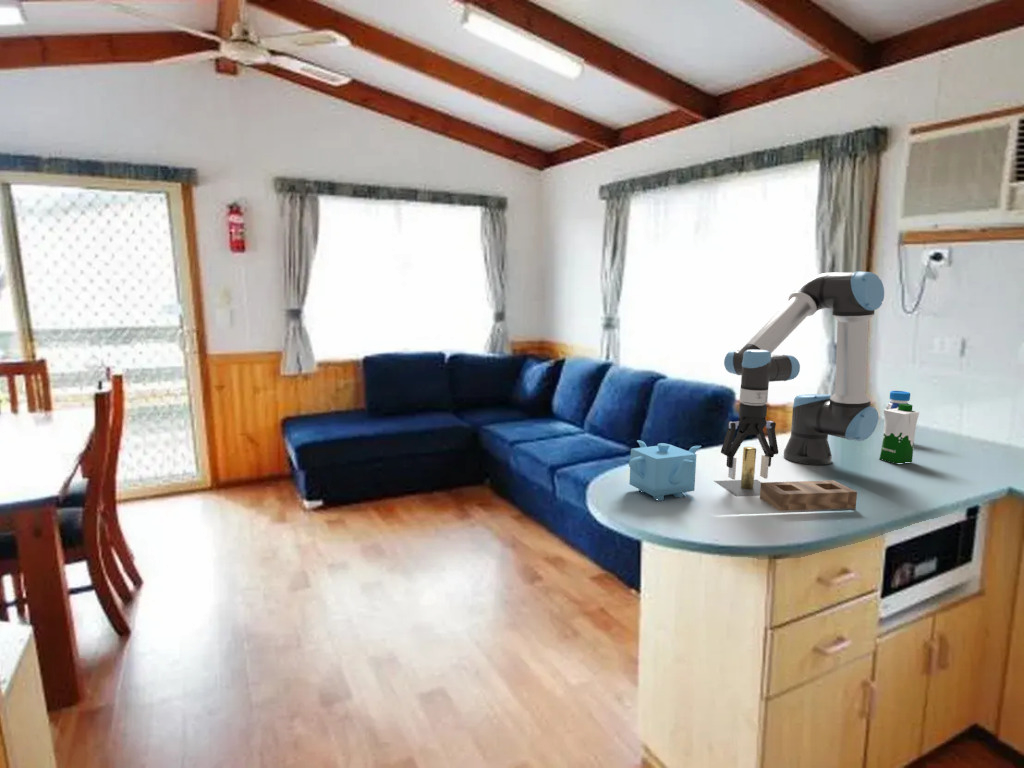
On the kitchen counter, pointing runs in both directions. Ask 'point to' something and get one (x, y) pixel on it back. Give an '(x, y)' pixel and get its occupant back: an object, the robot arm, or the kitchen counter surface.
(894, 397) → the beverage bottle
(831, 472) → the kitchen counter surface
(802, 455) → the robot arm
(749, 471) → the peg
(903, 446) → the milk carton
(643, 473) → the teakettle
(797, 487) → the hole block
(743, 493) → the mat
